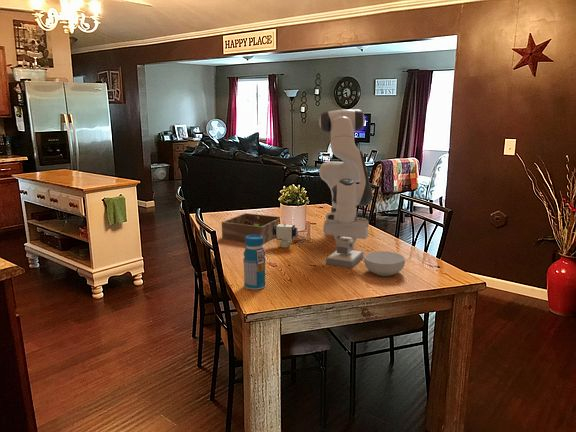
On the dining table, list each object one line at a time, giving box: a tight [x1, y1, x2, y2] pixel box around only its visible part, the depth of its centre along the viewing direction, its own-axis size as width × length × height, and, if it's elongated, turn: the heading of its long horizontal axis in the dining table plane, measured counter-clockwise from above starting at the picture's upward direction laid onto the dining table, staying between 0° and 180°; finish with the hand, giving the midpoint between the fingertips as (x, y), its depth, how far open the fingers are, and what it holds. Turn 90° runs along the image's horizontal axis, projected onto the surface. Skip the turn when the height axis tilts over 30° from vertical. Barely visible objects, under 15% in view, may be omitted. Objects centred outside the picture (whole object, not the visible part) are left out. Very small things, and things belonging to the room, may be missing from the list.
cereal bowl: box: [363, 250, 406, 277], centre depth 198 cm, size 17×17×7 cm
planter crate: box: [221, 212, 281, 245], centre depth 254 cm, size 24×24×9 cm
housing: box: [336, 236, 354, 254], centre depth 212 cm, size 8×5×6 cm, turn 154°
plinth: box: [325, 249, 364, 269], centre depth 214 cm, size 16×12×3 cm
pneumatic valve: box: [273, 222, 298, 249], centre depth 234 cm, size 6×12×12 cm, turn 79°
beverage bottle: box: [242, 235, 266, 291], centre depth 181 cm, size 8×8×20 cm
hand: (345, 246), depth 213 cm, fingers closed on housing, 5 cm apart
